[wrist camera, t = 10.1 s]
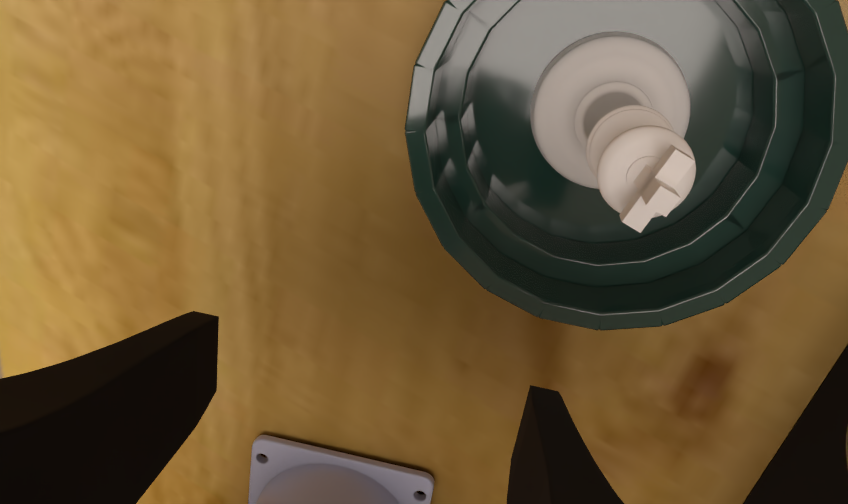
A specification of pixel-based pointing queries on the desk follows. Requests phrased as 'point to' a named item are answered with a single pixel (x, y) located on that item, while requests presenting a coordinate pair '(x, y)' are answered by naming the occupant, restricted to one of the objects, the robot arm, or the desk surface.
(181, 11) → the desk surface
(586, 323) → the bowl
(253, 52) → the desk surface
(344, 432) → the desk surface
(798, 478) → the nameplate
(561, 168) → the chess piece
